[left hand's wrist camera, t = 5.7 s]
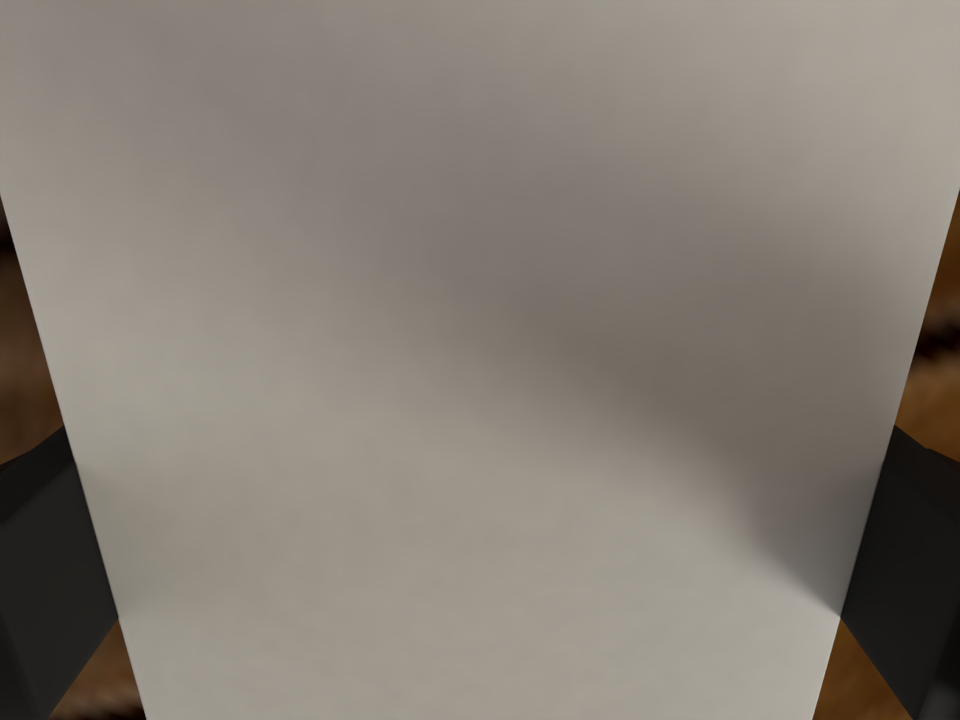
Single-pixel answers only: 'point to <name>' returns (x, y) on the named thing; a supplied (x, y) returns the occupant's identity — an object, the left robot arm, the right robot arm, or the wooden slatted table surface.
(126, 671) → the wooden slatted table surface
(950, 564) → the left robot arm
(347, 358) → the cabinet
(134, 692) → the wooden slatted table surface
